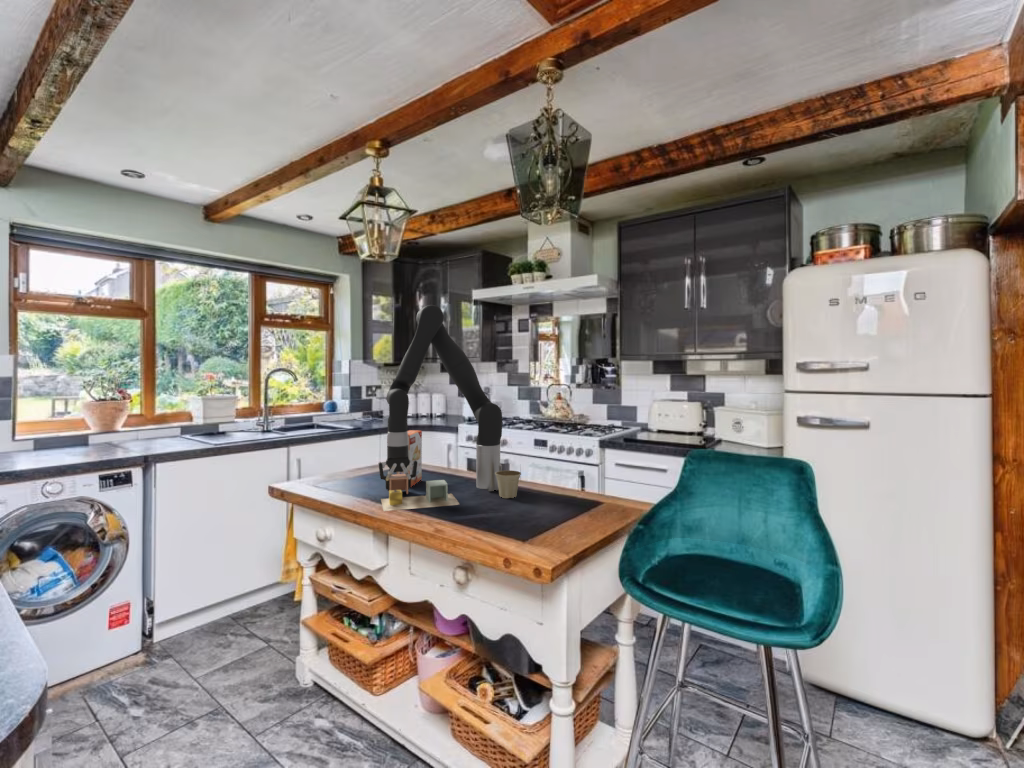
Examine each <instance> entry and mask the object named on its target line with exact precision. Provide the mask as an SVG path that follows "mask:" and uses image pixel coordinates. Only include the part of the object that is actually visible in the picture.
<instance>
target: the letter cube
mask: <svg viewBox="0 0 1024 768" xmlns="http://www.w3.org/2000/svg"><path fill="white" fill-rule="evenodd" d="M402 497H403V490H389V491H388V498H389V503H390V505H398V504H402Z"/></svg>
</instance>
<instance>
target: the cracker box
mask: <svg viewBox="0 0 1024 768" xmlns="http://www.w3.org/2000/svg"><path fill="white" fill-rule="evenodd" d="M422 434H423V430H420V429H418V430H414V429H412V430H411V429H409V430H408V441H409V443H408V452H409V460H416V461H417V471H416V477H413V478H411V488H413V487H414V486H415V484H416V483H417V482H419V481H420V480H421V479H422V480H423V478H422V466H423V465H422V463H423V461H422V460H423V459H422V458H423V457H422V455H423V453H422V452H423V451H422V450H423V449H422V448H423V447H422V445H423V443H422V441H423V435H422ZM406 469H407V471H408V473H409V474H412V469H413V466H411V463H410V464H409V465H408V466H407V468H406ZM396 474H405V473H404V471H403V472H396ZM422 480H421V481H422ZM421 481H420V482H421ZM420 482H419V483H420ZM417 484H418V483H417ZM417 484H416V485H417ZM413 485H414V486H413ZM412 486H413V487H412Z"/></svg>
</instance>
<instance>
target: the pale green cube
mask: <svg viewBox="0 0 1024 768" xmlns="http://www.w3.org/2000/svg"><path fill="white" fill-rule="evenodd" d="M448 489H449V488H448V483H447V481H446V480H445V479H436V480H425V493H426V494H425V496H426V498H427V500H428V502H429V503H430V498H437V497H444V499H445V500H446V501H448V494H449V493H448V491H449V490H448Z"/></svg>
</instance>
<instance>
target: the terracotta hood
mask: <svg viewBox="0 0 1024 768" xmlns="http://www.w3.org/2000/svg"><path fill="white" fill-rule="evenodd" d="M389 490H401V491H405V493H406V495H408V494H409V489H408V476H406V474H397V473H396V474H394V473H393V474H392V475H391V477H389Z"/></svg>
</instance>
